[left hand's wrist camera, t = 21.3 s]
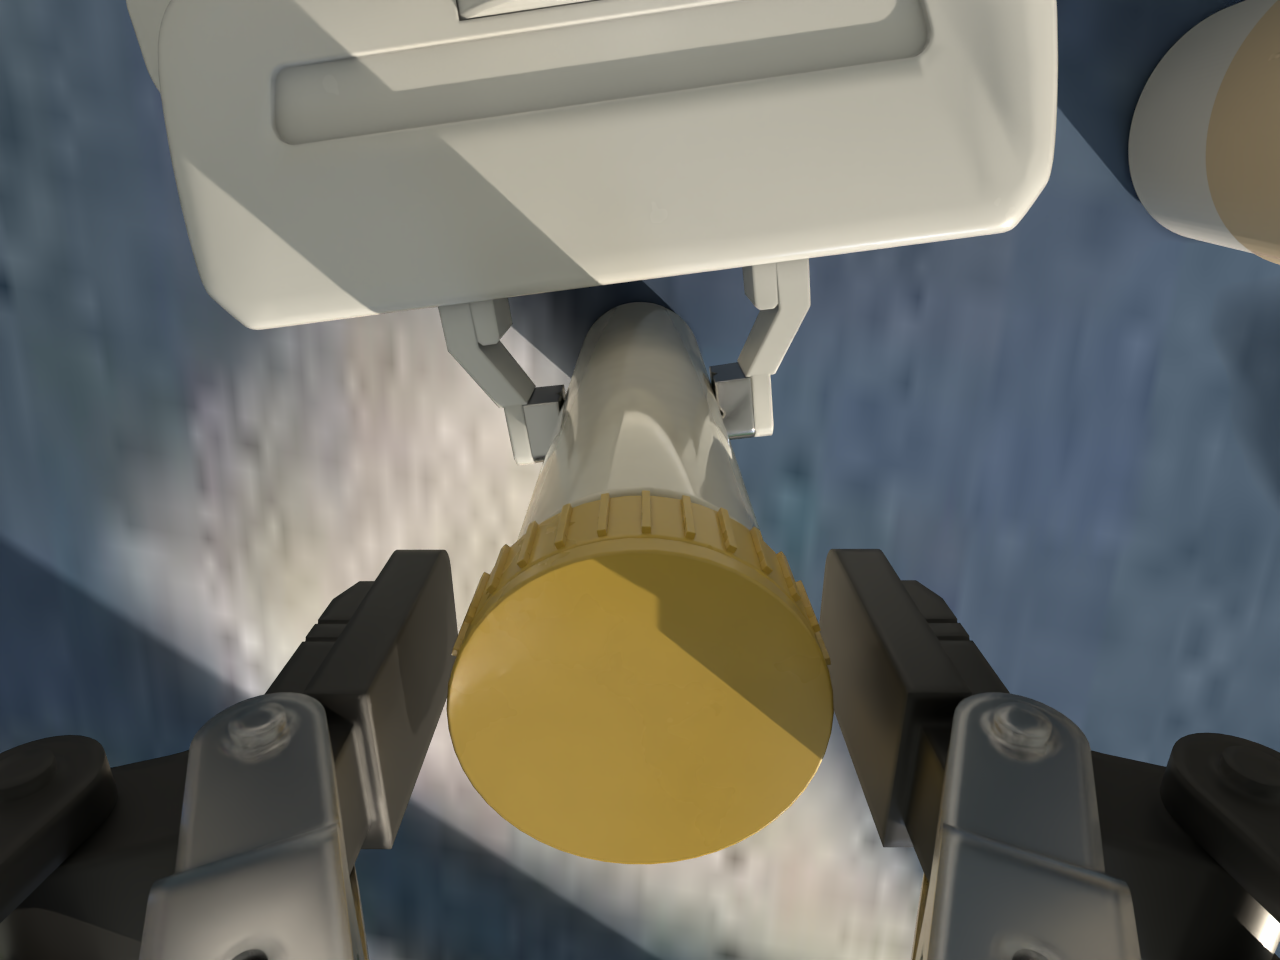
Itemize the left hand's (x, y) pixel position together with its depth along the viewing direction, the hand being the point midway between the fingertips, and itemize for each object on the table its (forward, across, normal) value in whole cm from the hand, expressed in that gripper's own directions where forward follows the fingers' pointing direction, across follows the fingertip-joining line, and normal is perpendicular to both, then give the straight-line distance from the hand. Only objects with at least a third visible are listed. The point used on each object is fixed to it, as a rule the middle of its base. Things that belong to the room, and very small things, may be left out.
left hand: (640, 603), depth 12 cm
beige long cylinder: (+16, 0, 0) cm, 16 cm away
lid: (-2, 0, 0) cm, 2 cm away
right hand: (+10, 0, -1) cm, 10 cm away
